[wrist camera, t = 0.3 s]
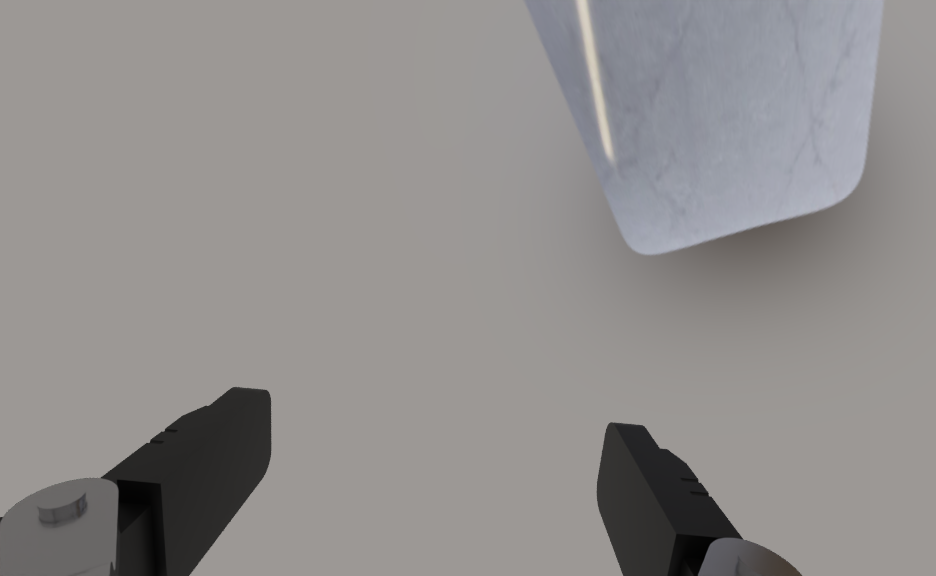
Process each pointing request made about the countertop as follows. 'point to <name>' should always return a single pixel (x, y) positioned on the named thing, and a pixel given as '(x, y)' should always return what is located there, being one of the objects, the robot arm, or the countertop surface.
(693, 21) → the countertop surface
